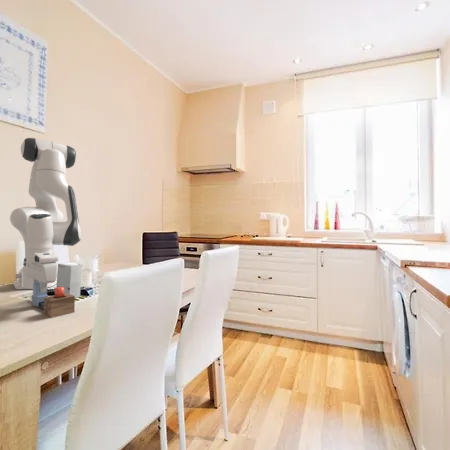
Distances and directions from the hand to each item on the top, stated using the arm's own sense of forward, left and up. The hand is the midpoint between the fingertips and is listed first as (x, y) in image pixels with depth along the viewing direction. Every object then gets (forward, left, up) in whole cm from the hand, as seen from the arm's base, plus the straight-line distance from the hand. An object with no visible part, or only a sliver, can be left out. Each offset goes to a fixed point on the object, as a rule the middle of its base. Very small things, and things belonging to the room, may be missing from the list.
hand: (40, 290), depth 115 cm
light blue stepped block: (0, 0, -6) cm, 6 cm away
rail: (+4, 0, -6) cm, 7 cm away
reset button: (+14, +2, 0) cm, 14 cm away
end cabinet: (+14, +1, -6) cm, 15 cm away
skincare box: (-4, +13, -6) cm, 15 cm away
